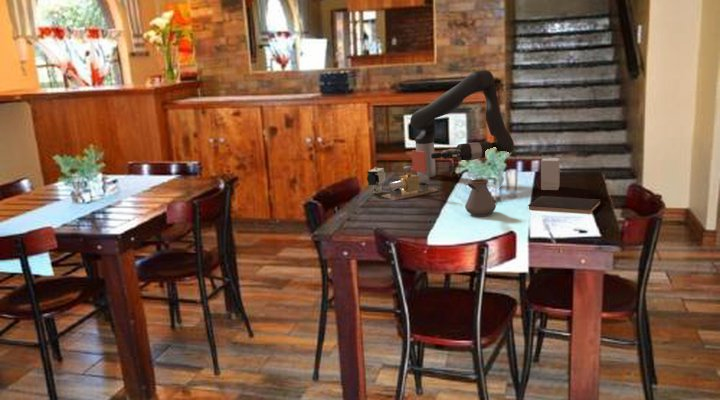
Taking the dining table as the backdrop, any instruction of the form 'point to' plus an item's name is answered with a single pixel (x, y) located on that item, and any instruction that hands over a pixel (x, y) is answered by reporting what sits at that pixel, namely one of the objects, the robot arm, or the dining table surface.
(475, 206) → the coffee pot
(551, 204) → the hardcover book
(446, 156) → the robot arm
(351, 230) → the dining table surface
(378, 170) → the pneumatic valve
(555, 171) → the supplement box
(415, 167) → the lever
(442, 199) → the dining table surface
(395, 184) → the valve body
